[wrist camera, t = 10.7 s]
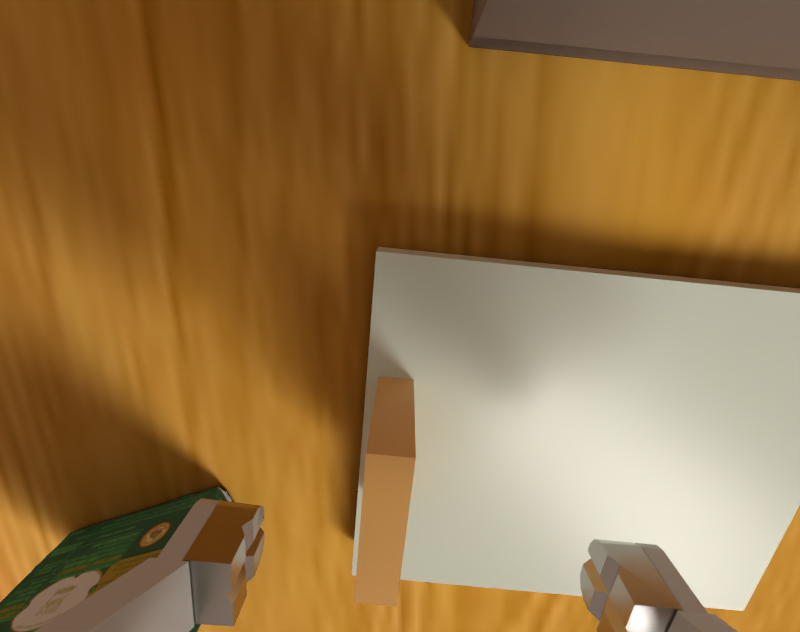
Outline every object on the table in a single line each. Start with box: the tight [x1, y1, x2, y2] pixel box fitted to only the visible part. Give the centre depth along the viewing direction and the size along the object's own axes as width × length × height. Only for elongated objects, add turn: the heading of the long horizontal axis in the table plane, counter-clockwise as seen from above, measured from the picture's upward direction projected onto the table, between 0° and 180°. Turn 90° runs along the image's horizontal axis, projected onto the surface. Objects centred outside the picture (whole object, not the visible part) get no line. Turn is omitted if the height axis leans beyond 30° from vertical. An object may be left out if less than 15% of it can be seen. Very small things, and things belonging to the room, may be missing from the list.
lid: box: [352, 247, 800, 611], centre depth 13 cm, size 16×13×6 cm
